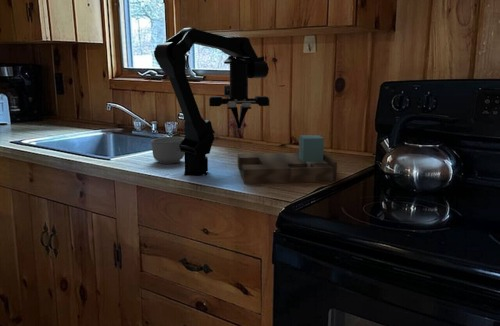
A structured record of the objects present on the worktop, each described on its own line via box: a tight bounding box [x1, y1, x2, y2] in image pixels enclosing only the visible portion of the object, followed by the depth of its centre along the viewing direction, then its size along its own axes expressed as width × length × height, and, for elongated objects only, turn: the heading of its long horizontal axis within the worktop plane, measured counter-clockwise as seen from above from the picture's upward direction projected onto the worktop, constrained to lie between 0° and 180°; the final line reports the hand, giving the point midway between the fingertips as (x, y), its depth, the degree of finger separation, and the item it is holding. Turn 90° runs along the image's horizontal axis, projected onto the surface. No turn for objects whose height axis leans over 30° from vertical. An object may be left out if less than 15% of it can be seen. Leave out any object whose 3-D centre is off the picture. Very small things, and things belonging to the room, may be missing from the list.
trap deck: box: [237, 152, 338, 185], centre depth 140 cm, size 26×22×6 cm
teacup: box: [150, 136, 185, 165], centre depth 156 cm, size 14×11×8 cm
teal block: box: [298, 134, 325, 162], centre depth 140 cm, size 6×6×7 cm
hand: (238, 128), depth 149 cm, fingers closed
